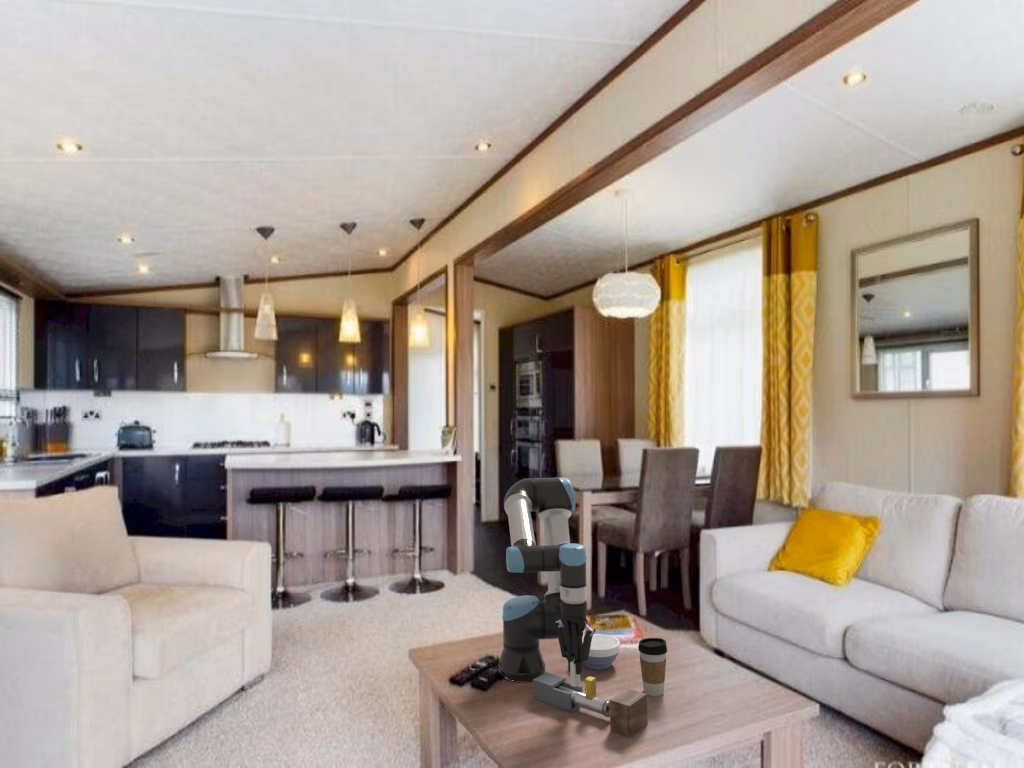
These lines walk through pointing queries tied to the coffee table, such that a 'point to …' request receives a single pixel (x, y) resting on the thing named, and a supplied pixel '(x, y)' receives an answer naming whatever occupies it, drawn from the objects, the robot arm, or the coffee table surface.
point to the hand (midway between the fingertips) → (575, 684)
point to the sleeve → (554, 692)
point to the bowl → (602, 651)
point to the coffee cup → (653, 665)
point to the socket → (628, 712)
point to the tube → (588, 698)
